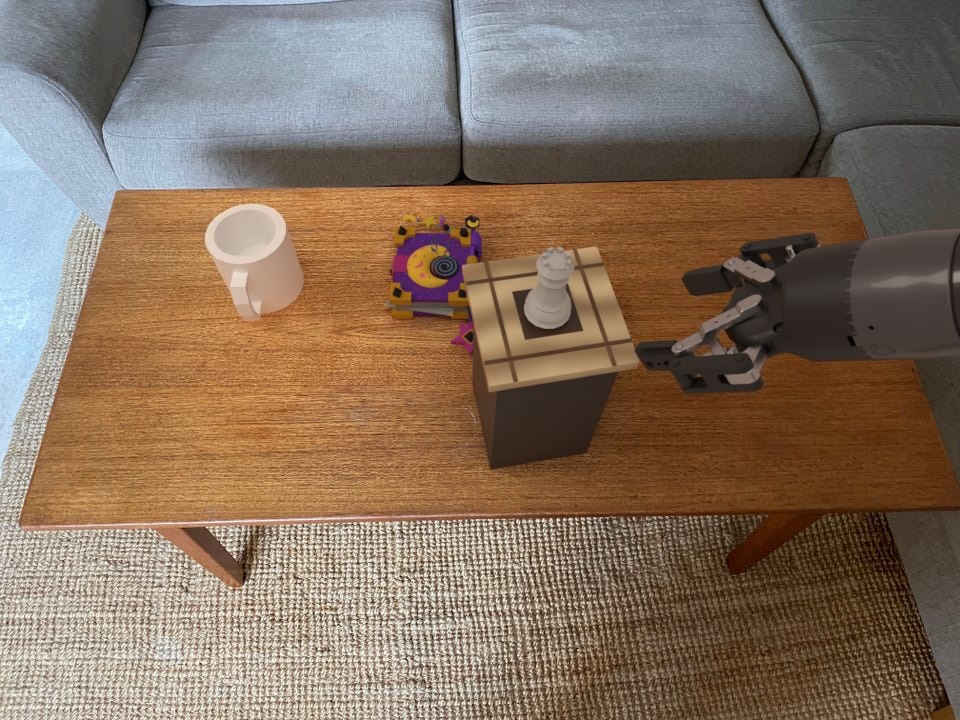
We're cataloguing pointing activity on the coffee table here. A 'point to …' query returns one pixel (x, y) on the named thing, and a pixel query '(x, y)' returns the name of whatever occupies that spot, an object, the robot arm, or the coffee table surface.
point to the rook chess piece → (550, 290)
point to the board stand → (538, 416)
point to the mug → (255, 259)
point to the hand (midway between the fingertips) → (664, 318)
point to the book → (434, 273)
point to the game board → (534, 350)
